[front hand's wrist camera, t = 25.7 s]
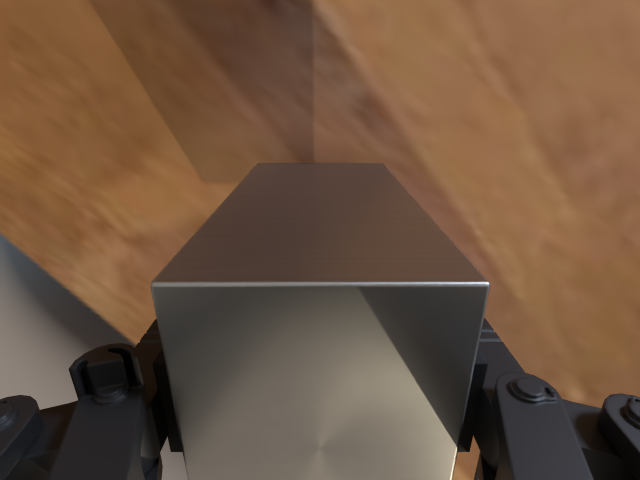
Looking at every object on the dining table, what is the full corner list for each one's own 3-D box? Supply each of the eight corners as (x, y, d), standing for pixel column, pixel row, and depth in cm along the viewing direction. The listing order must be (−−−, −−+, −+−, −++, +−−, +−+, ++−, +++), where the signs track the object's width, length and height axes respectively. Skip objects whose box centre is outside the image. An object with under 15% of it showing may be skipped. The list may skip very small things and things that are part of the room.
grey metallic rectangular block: (266, 308, 20) (202, 561, 9) (257, 163, 17) (147, 283, 6) (374, 308, 20) (437, 561, 9) (383, 163, 17) (492, 283, 6)
